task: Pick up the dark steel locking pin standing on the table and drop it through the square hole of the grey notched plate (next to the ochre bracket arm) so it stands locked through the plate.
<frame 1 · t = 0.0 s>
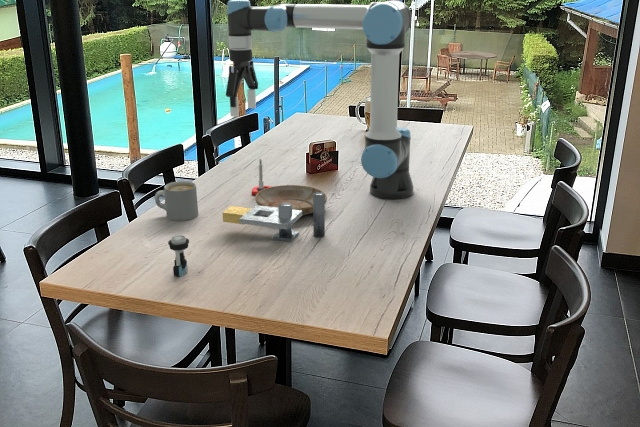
hand: (243, 112, 235), 28 cm above the table, fingers open, 13 cm apart
push button: (182, 272, 182), on the table
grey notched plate: (273, 235, 205), on the table
tow hook: (263, 192, 243), on the table
coffee mug: (177, 215, 222), on the table
ceramic bowl: (291, 210, 226), on the table
locking pin: (319, 235, 205), on the table
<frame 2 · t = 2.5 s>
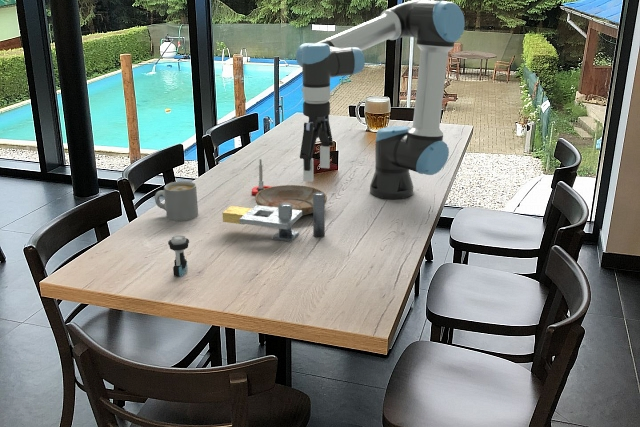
hand: (316, 174, 198), 19 cm above the table, fingers open, 13 cm apart
nothing on the table moved.
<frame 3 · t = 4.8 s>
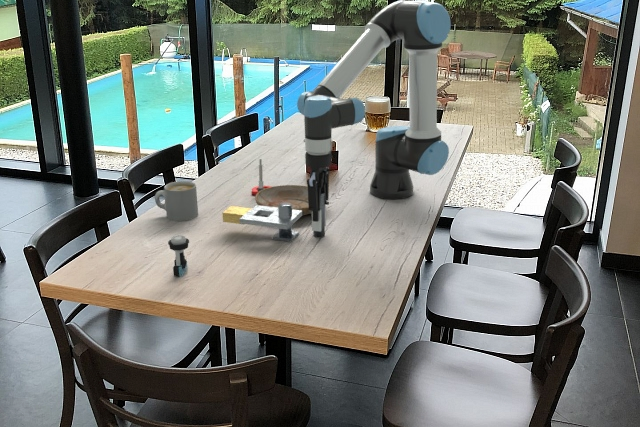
hand: (319, 227, 204), 2 cm above the table, fingers closed on locking pin, 3 cm apart
locking pin: (319, 235, 205), on the table, touching gripper
everything else where it was.
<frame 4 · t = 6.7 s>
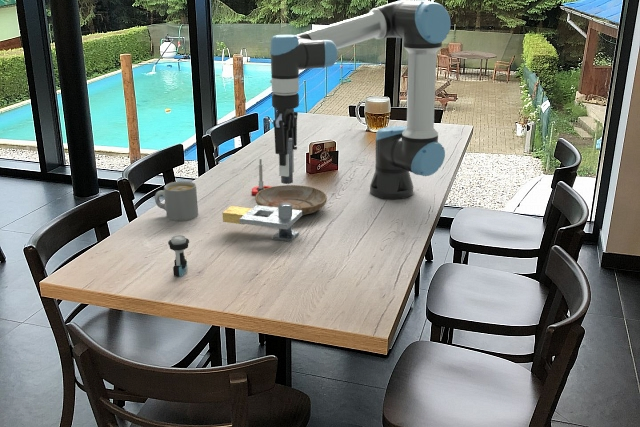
hand: (286, 173, 199), 19 cm above the table, fingers closed on locking pin, 3 cm apart
locking pin: (286, 182, 199), point 17 cm above the table, touching gripper
everything else where it was.
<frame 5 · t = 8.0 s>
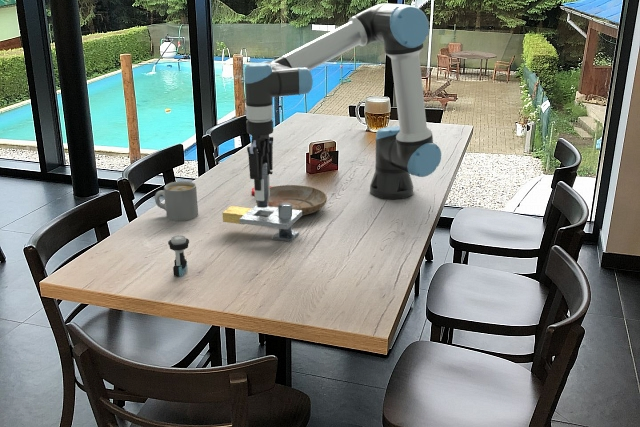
hand: (262, 197, 202), 11 cm above the table, fingers closed on locking pin, 3 cm apart
locking pin: (262, 205, 203), point 9 cm above the table, touching gripper
everything else where it was.
when the fingers open (8 cm above the table, at t = 8.9 s): locking pin drops 5 cm, on the table.
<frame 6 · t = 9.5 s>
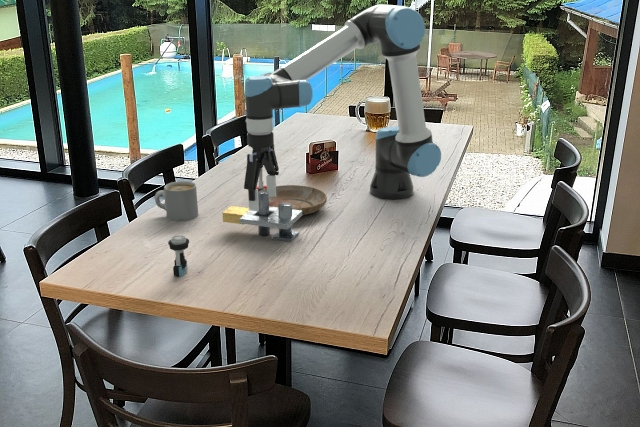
hand: (263, 203, 203), 10 cm above the table, fingers open, 12 cm apart
locking pin: (264, 233, 206), on the table
everything else where it was.
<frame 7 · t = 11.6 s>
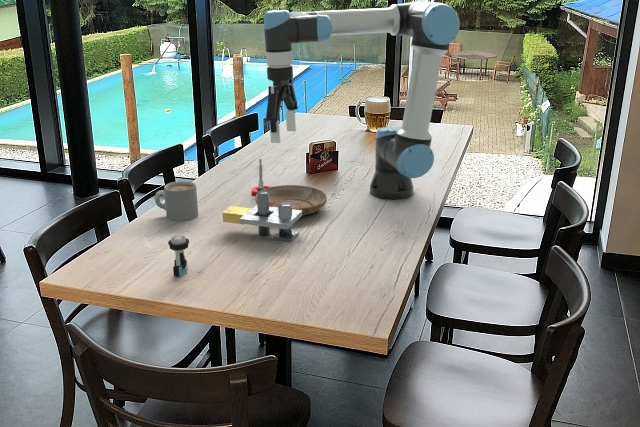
hand: (283, 136, 208), 27 cm above the table, fingers open, 13 cm apart
nothing on the table moved.
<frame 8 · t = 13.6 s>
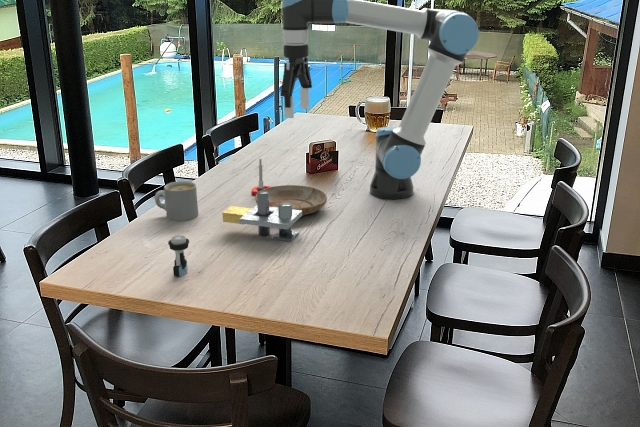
hand: (297, 113, 216), 32 cm above the table, fingers open, 13 cm apart
nothing on the table moved.
at the end: locking pin 0.0 cm from the target spot on the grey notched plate, point 0.0 cm above the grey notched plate's base; locking pin tilted 0°; the gripper is holding nothing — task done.
